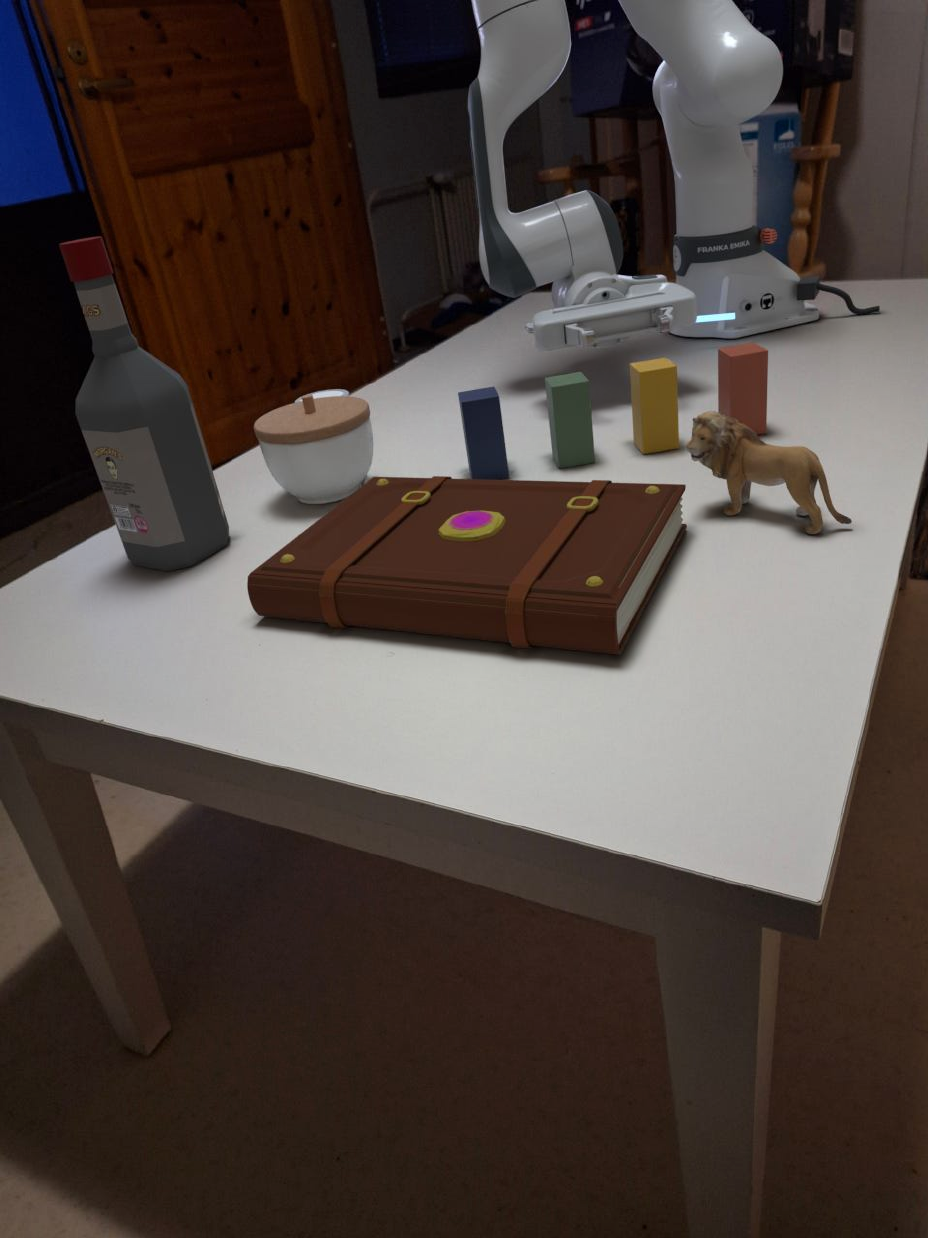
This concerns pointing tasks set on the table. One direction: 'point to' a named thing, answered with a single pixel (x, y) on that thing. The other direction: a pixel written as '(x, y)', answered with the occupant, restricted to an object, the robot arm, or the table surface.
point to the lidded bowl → (318, 446)
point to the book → (481, 560)
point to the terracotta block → (744, 384)
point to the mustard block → (654, 405)
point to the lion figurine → (759, 465)
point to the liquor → (142, 431)
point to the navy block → (484, 433)
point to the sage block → (570, 419)
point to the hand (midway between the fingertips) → (628, 332)
